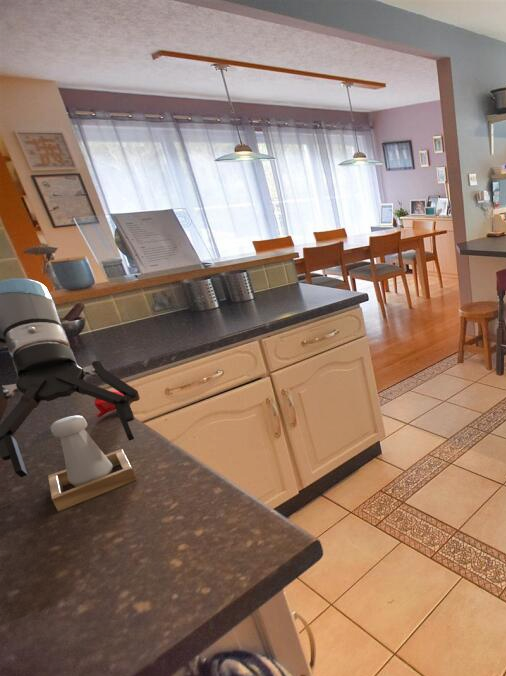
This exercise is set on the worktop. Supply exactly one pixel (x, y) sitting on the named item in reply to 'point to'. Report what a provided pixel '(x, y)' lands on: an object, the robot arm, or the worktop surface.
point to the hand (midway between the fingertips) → (79, 454)
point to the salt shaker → (80, 451)
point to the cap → (105, 405)
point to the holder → (90, 483)
